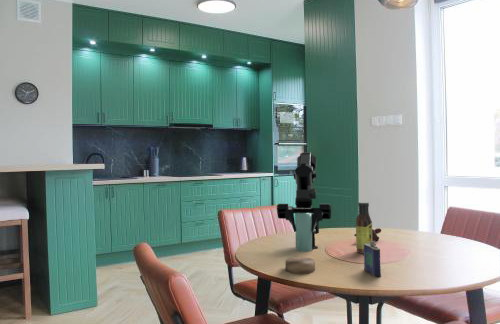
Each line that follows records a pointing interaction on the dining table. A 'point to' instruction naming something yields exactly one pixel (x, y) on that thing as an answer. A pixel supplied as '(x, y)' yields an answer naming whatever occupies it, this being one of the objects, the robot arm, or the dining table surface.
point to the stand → (300, 265)
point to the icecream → (374, 234)
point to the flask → (372, 259)
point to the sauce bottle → (363, 227)
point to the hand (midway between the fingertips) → (303, 231)
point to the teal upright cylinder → (303, 231)
